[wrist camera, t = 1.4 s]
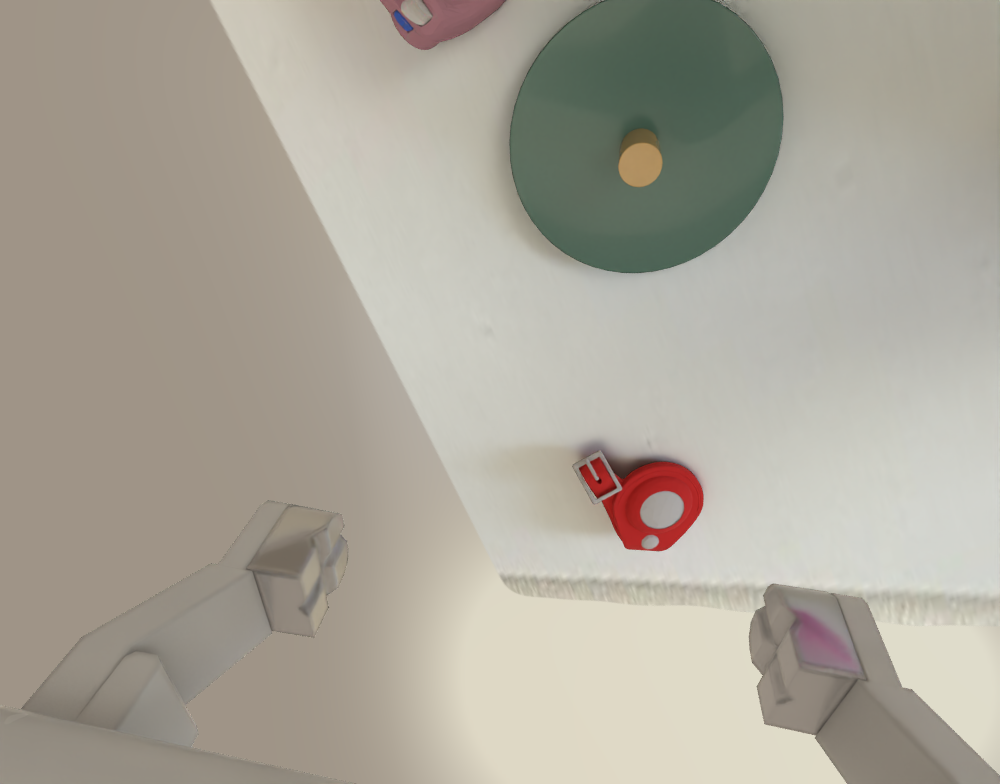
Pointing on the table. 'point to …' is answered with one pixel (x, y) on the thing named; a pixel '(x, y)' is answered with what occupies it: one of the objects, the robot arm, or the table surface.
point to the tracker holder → (644, 500)
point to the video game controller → (437, 18)
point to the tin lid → (646, 132)
